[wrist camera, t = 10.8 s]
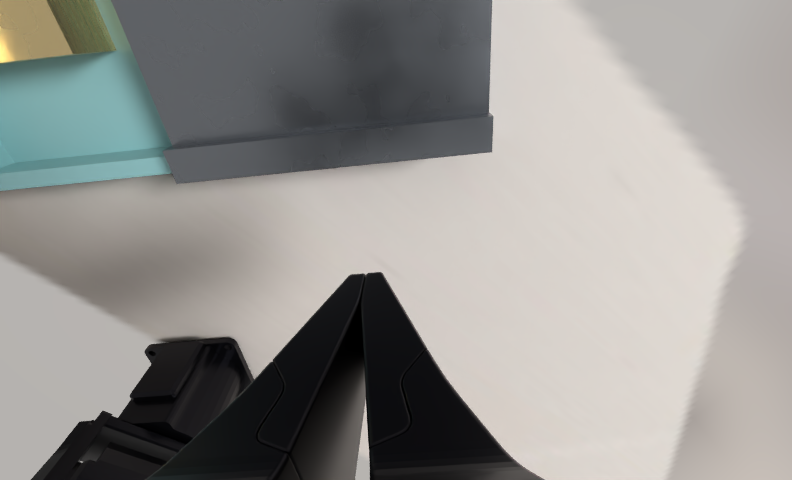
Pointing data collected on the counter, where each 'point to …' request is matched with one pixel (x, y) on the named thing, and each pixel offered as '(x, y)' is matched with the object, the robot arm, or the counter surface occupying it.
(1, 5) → the tan square block
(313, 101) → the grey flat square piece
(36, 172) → the tray
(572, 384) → the counter surface
